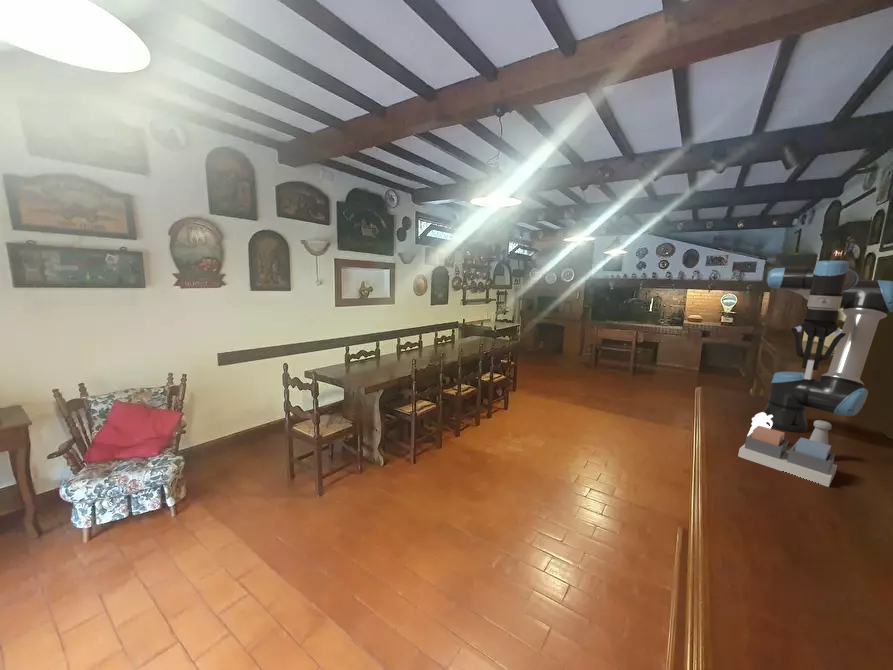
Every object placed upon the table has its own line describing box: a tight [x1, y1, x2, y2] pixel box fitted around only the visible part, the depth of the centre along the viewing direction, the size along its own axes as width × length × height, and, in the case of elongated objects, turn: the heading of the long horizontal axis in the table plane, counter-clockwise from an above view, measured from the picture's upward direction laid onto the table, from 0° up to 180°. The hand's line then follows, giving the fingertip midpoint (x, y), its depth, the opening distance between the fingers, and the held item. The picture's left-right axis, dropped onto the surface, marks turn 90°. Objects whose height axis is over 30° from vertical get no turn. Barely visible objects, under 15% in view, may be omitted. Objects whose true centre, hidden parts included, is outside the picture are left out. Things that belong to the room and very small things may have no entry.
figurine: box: [746, 411, 773, 437], centre depth 136 cm, size 7×7×12 cm
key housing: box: [737, 433, 838, 488], centre depth 121 cm, size 13×22×7 cm, turn 37°
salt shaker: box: [809, 419, 833, 445], centre depth 127 cm, size 6×6×13 cm
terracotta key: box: [751, 426, 786, 446], centre depth 124 cm, size 7×7×5 cm
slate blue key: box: [795, 436, 832, 461], centre depth 116 cm, size 7×7×5 cm
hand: (807, 378), depth 122 cm, fingers closed
